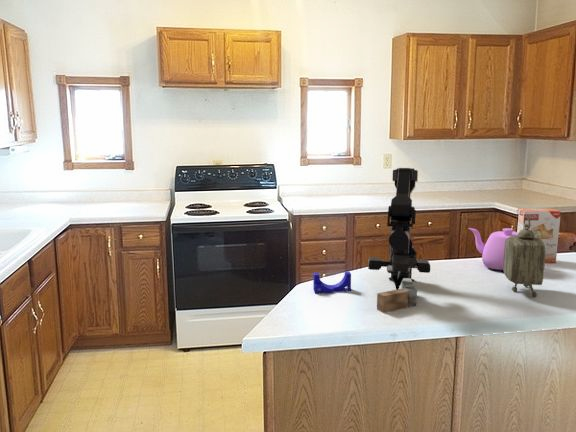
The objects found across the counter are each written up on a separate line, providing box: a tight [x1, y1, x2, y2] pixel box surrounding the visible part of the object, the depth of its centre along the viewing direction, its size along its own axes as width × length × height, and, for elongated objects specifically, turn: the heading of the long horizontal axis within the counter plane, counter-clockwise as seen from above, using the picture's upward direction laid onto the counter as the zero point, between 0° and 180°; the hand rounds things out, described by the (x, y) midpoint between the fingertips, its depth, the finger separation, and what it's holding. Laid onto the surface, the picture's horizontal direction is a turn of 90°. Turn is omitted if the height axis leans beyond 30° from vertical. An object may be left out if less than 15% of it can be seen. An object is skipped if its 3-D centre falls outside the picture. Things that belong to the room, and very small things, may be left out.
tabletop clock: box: [503, 216, 546, 298], centre depth 166 cm, size 14×9×25 cm, turn 168°
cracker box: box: [516, 208, 562, 264], centre depth 203 cm, size 14×6×21 cm, turn 87°
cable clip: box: [312, 271, 352, 295], centre depth 169 cm, size 12×4×6 cm, turn 94°
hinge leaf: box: [400, 277, 418, 299], centre depth 160 cm, size 13×4×5 cm, turn 174°
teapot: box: [468, 227, 518, 271], centre depth 198 cm, size 23×21×15 cm
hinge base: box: [376, 288, 418, 313], centre depth 153 cm, size 13×4×5 cm, turn 117°
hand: (397, 290), depth 163 cm, fingers closed
